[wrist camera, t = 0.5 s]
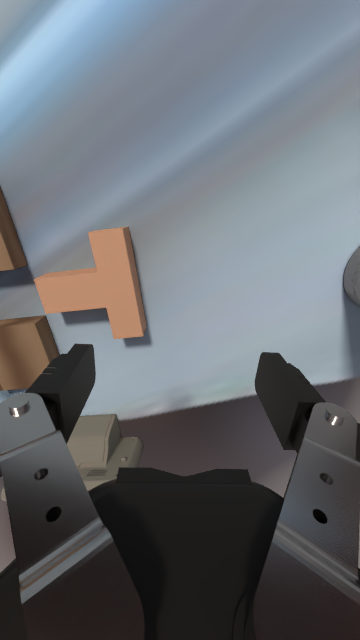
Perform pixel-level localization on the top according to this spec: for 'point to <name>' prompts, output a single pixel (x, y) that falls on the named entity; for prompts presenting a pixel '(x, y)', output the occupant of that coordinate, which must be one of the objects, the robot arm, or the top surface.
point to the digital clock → (101, 449)
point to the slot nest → (20, 322)
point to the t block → (100, 284)
